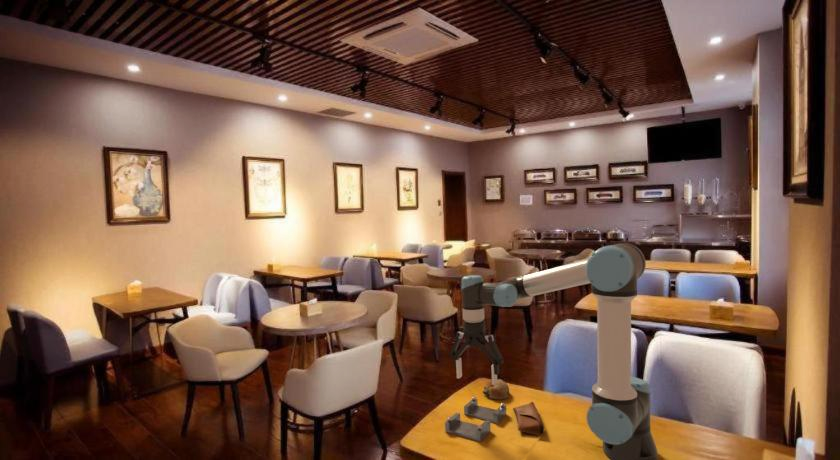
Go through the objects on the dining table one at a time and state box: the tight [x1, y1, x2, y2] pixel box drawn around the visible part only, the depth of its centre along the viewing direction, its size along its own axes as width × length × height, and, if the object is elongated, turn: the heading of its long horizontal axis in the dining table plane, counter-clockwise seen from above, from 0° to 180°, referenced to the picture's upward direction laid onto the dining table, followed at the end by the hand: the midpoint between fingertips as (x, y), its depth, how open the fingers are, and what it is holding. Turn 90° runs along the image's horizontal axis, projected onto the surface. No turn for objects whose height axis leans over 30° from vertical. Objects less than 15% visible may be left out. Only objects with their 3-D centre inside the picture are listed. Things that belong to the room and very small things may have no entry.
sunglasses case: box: [512, 401, 545, 436], centre depth 154 cm, size 18×7×7 cm
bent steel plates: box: [444, 396, 507, 443], centre depth 155 cm, size 13×22×4 cm, turn 147°
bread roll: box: [482, 378, 510, 401], centre depth 176 cm, size 10×10×8 cm
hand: (476, 380), depth 154 cm, fingers open, 13 cm apart
